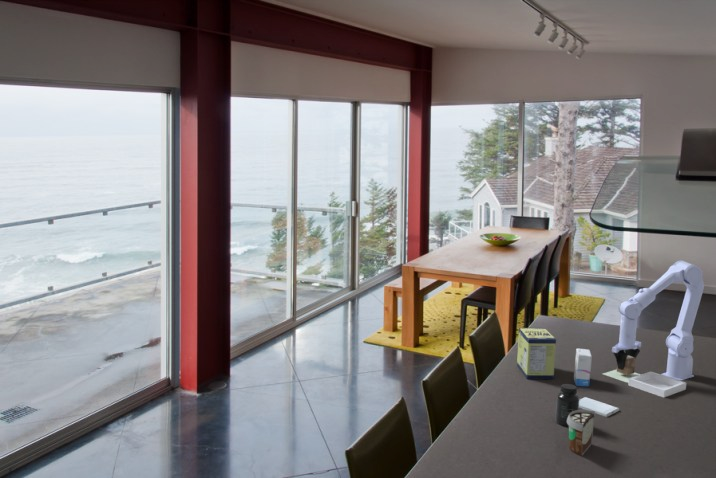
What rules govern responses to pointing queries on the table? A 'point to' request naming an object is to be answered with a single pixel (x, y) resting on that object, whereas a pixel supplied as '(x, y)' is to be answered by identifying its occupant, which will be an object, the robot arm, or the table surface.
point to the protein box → (536, 353)
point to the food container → (580, 430)
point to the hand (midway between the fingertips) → (624, 367)
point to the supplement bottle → (566, 403)
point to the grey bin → (657, 384)
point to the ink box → (582, 367)
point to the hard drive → (597, 407)
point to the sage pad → (620, 375)
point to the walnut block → (628, 366)
